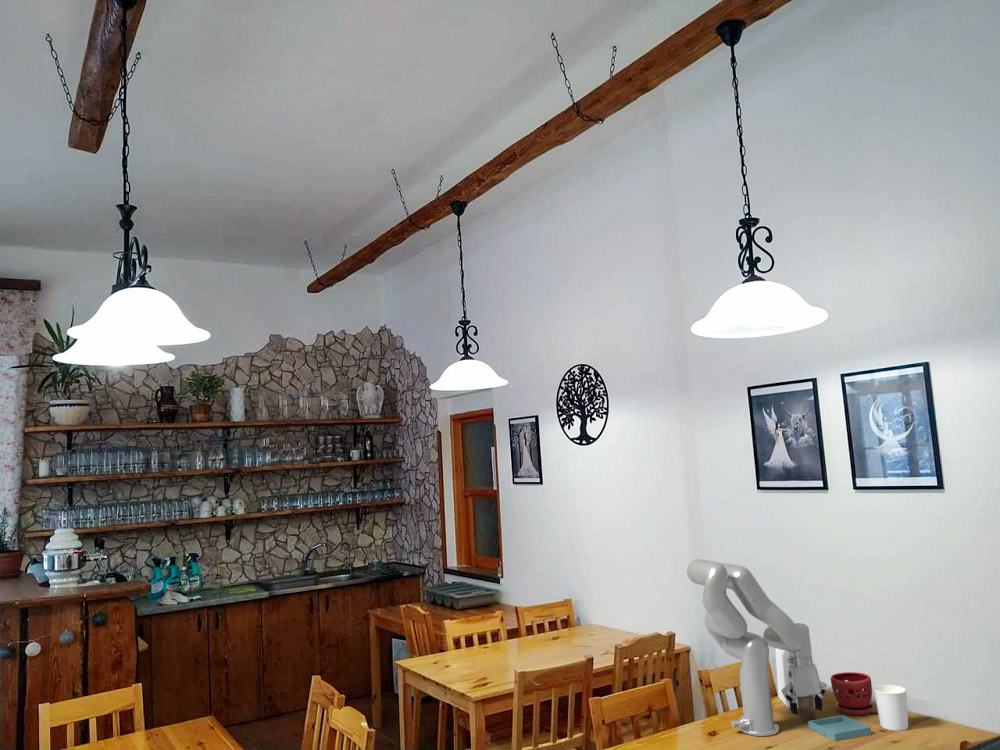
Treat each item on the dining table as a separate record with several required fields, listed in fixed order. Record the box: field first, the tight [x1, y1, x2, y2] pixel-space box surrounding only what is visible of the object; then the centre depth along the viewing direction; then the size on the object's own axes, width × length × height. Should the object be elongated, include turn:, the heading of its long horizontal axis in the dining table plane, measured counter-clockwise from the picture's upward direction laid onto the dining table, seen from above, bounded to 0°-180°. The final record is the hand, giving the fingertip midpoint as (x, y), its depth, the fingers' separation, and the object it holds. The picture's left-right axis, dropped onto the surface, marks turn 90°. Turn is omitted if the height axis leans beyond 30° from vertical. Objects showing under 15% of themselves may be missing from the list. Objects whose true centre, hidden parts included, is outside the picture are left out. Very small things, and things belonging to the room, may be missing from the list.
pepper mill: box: [797, 695, 817, 723], centre depth 269 cm, size 5×5×10 cm
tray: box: [807, 714, 872, 742], centre depth 255 cm, size 14×14×2 cm
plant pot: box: [830, 671, 874, 716], centre depth 274 cm, size 13×13×12 cm
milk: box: [775, 648, 816, 707], centre depth 288 cm, size 12×12×26 cm
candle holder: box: [872, 684, 909, 732], centre depth 256 cm, size 10×10×12 cm
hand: (806, 711), depth 268 cm, fingers open, 9 cm apart
